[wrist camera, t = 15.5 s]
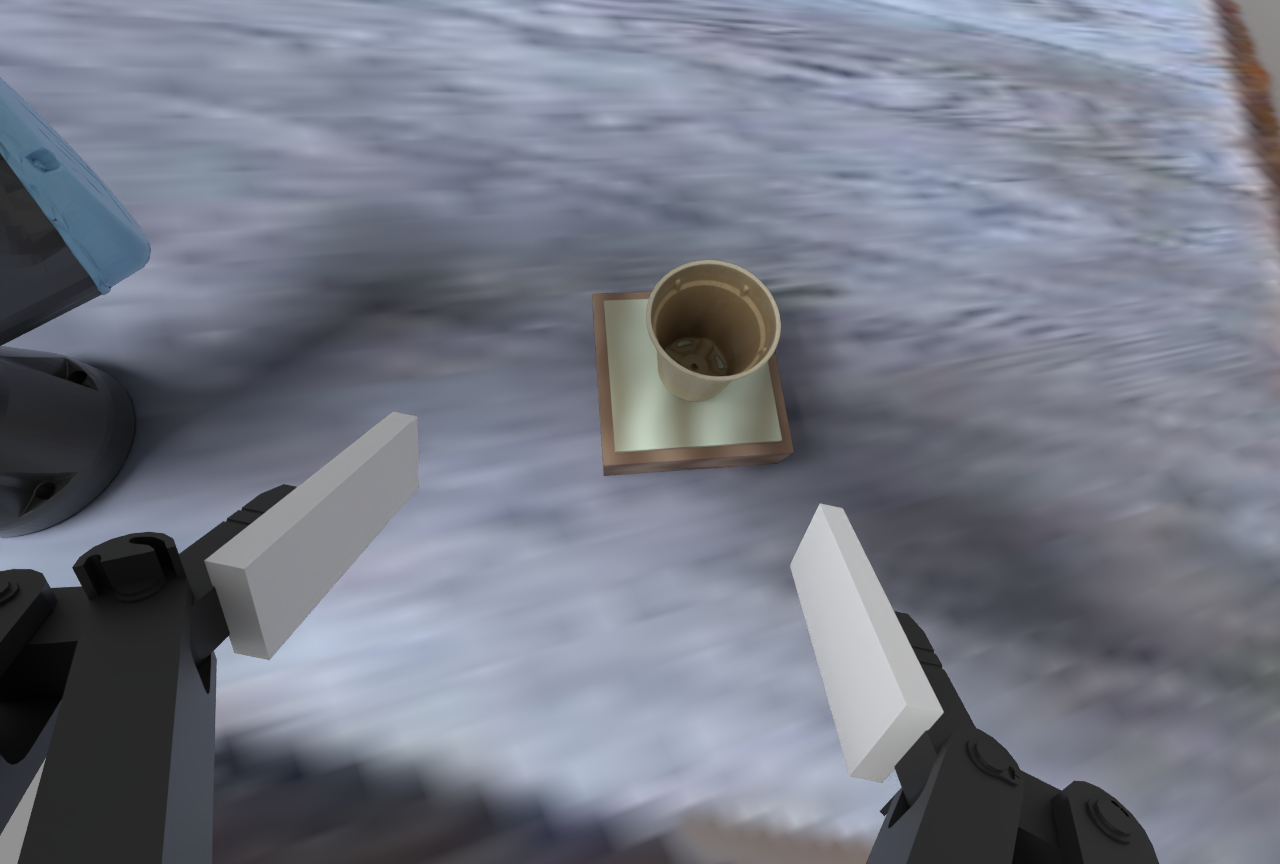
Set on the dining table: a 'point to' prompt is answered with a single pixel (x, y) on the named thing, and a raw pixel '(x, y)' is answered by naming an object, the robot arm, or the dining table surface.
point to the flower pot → (710, 327)
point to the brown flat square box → (677, 404)
